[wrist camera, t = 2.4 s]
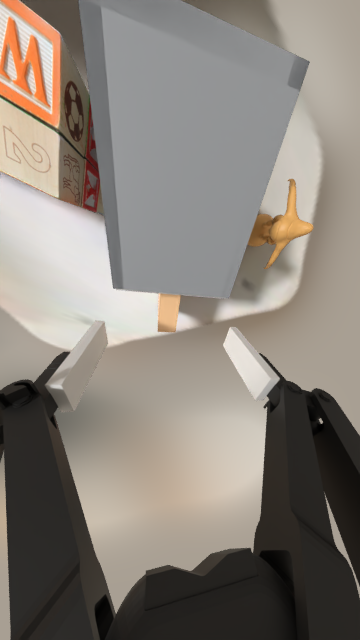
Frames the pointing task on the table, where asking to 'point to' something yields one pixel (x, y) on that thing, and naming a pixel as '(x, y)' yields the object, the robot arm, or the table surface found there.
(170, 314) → the light orange rectangular block
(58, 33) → the stack of blocks
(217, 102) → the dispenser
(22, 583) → the robot arm
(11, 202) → the table surface
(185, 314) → the table surface
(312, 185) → the table surface
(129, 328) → the table surface
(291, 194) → the figurine
